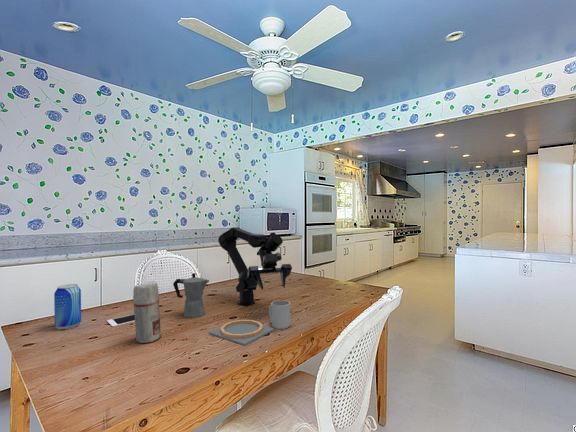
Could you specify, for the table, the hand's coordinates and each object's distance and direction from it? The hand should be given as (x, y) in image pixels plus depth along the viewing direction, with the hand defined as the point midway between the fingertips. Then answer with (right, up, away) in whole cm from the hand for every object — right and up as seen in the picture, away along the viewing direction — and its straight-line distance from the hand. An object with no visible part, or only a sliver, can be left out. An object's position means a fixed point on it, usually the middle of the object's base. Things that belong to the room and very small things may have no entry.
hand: (273, 288), depth 123 cm
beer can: (-80, -14, -6) cm, 82 cm away
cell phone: (-59, -14, +2) cm, 61 cm away
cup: (+2, -13, -7) cm, 15 cm away
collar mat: (-11, -13, -13) cm, 22 cm away
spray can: (-43, -14, -19) cm, 49 cm away
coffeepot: (-36, -13, +7) cm, 39 cm away
